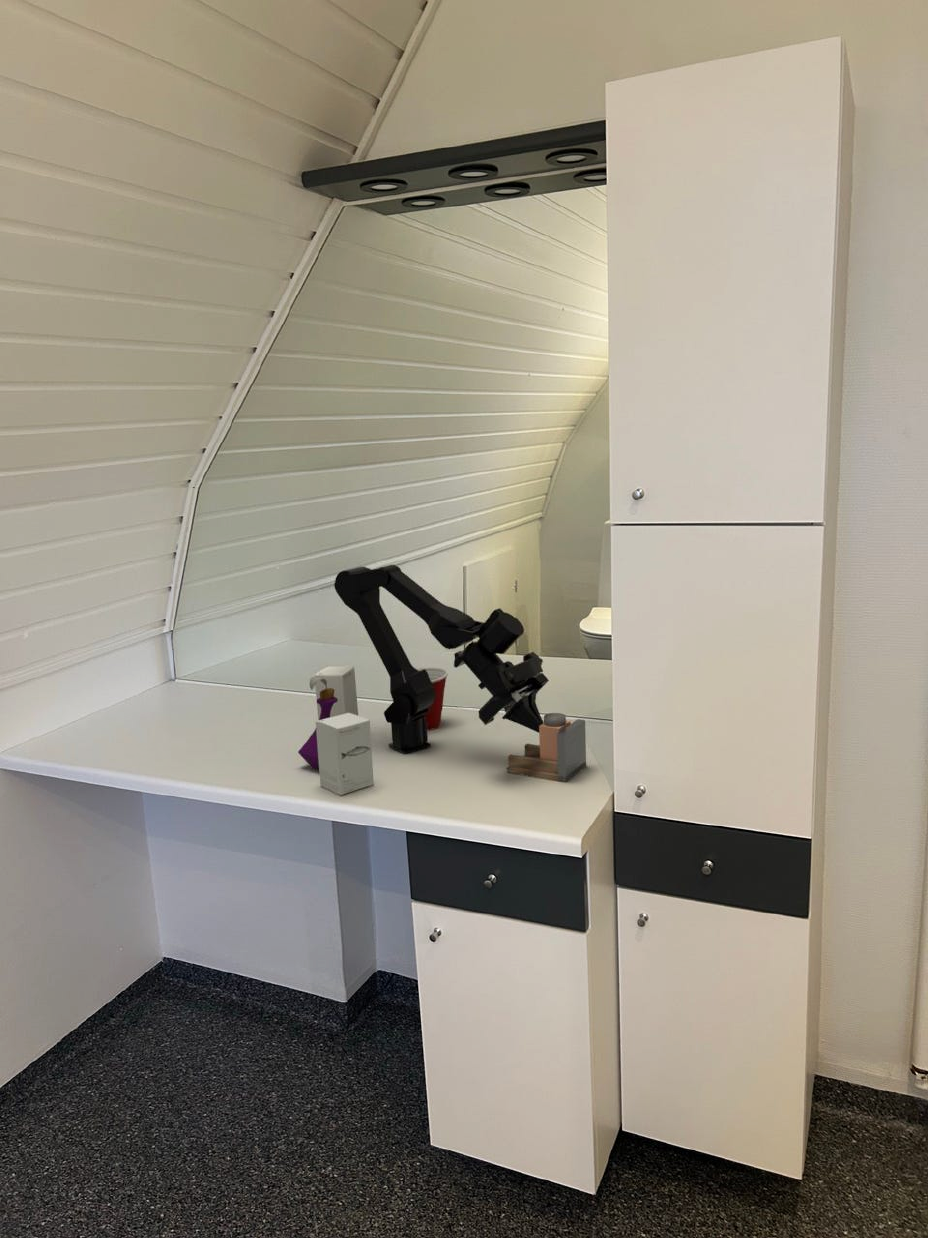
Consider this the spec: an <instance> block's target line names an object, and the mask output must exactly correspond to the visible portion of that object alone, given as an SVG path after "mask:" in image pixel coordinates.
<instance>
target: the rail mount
mask: <svg viewBox="0 0 928 1238" xmlns="http://www.w3.org/2000/svg"><path fill="white" fill-rule="evenodd" d="M586 741H587V740H586V720H585V719H580V718H578V719H575V720H574V721H573V722H572V723H571V724H570V725H569V726H567V727H566V728H564V729H563V730H561V731H560V732H558V733H557V755H558V762H556V761H550V760H544V759H540V744H532V743H525V744H524V755H518V754H511V753H510V754H509V755H508V756H507V758H508V759H507V760H508V766H507V767H506V773H507V772H512V773H511V774H513V773H517V774H516V775H519V774H524V775H523V776H525V775H528V776H527V777H531V776H534V777H533V778H537V777H538V778H537V779H544V780H550V781H557V782H561V783H567V782H568V781H570V780H571V779H572V778H573V777H575V776H576V775H577V774H578V773H580V770H581V769H582V770H583V769H585V768H586V767H587V750H586V749H587V748H586V747H587V745H586V744H587V743H586ZM582 770H581V771H582ZM575 774H576V775H575Z"/></svg>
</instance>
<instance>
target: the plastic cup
mask: <svg viewBox="0 0 928 1238" xmlns="http://www.w3.org/2000/svg"><path fill="white" fill-rule="evenodd" d="M416 669H417V670H418V671H421V670H423V669H425V670H426V671H427V673H428V675H429V678H430V680H431V682H432V683H433V684H434V685H435V687H433V688H434V691H435V695H436V696H435V699H434V702H433V704H432V705H431V706H430V709H429V713H428V714H425V715H423V716H425V722H426V723H427V731H430V730H435V729H437V728H439V727H440V724H441V721H442V720H441V719H442V714H443V713H442V712H443V707H444V706H443V705H444V695H445V687H446V682H447V677H448V676H449V672H448V670H447V669H446V668H443V667H437V666H428V667H427V666H426V667H420V668H417V667H416Z"/></svg>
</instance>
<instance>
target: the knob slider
mask: <svg viewBox="0 0 928 1238" xmlns="http://www.w3.org/2000/svg"><path fill="white" fill-rule="evenodd" d="M566 718H567V716H566V714H564V713H561V712H552V713H551V712H550V713H546V714H544V715H543V722H544V723H543V724H542V725H540V726H539V745H540V759H544V760H550V761H556V762H558V755H557V733H558V732H560V731H561V730H563V729H564V728H566V727H567V726H569V725H570V724H572V723H571V720H567V719H566Z"/></svg>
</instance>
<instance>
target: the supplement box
mask: <svg viewBox="0 0 928 1238" xmlns="http://www.w3.org/2000/svg"><path fill="white" fill-rule="evenodd" d="M315 729H316V733H317V746H318V760H319V769H318V771H319V785H320V786H321V787H323V788H325V789H327V790H328V791H331V792H333V793H334V794H336V795H339V796H343V795H345V794H348V793H351V792H355V791H358V790H361V789H364V788H367V787H372V786H374V783H375V782H374V781H375V780H374V769H373V768H374V766H373V752H372V750H373V749H372V736H371V735H372V734H371V721H370V719H368V718H366V717H362V716H360V715H358V716H357V715H354V714H351V713H346V714H342V715H338V716H334V717H330V718H326V719H322V720H316V721H315Z"/></svg>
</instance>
